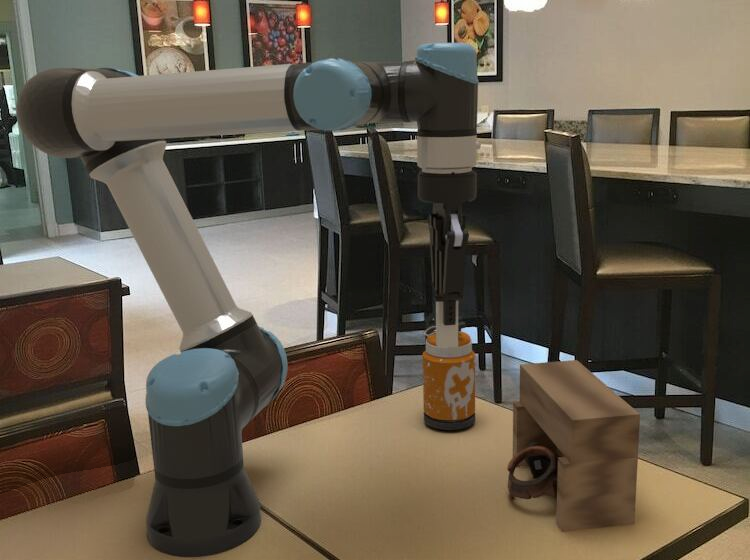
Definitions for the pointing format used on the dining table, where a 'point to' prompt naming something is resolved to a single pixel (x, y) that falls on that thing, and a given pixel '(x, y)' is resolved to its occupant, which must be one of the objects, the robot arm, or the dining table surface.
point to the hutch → (580, 442)
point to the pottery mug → (534, 472)
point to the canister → (448, 380)
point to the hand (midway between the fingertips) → (447, 345)
